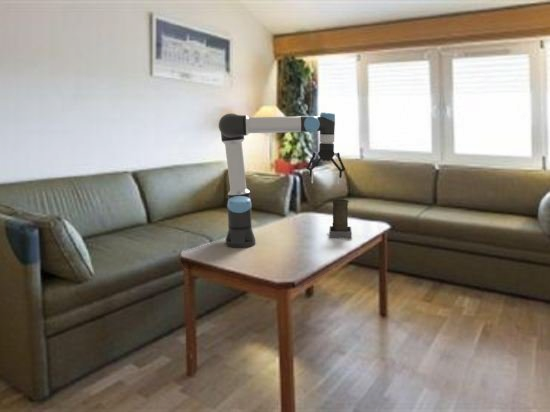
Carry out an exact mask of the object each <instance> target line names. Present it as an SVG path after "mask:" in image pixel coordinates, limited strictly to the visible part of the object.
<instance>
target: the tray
mask: <svg viewBox="0 0 550 412" xmlns="http://www.w3.org/2000/svg"><path fill="white" fill-rule="evenodd" d="M332 228H333V225H332V226H329V231H328V232H329V234H328V237H329V239H352V235H353V234H352V232H353V231H352V226H348V232H343V231H332Z"/></svg>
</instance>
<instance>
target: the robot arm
mask: <svg viewBox="0 0 550 412" xmlns="http://www.w3.org/2000/svg"><path fill="white" fill-rule="evenodd" d="M335 127H336V115H335V113H334V112H321V113H320V115H318V116H317V115H316V116H315V115H299V116H297V115H296V116H257V117H255V116H253V117H249V116H248V115H246V114H244V115H241V114H236V113H232V112H231V113H226V114H224V115H223V116H221V118H220V119H219V121H218V129H219V132H220V136H221V143H223V144H224V145H225V146H224V147H225V155H226V163H227V164H226V165H227V171H228V172H227V173H228V182H229V191H228V193H227V198H228V199H227V204H226V206H227V207H226V208H227V223H228V224H227V225H228V226H227V227H228V229H227V234H226V236H225V240H224V241H225V246H226V245H227V247H229V248H237V249H238V248H240V249H241V248H249V247H253V246H254V245H256V237H255V235H254V231H253V228H252V226H253V225H252V207H253V205H252V201H251V191H250V189H248V188H247V179H246V171H245V170H246V169H245V162H244V161H245V160H244V152H243V151H244V150H243V142H244V140H245V136H248V135H249V134H267V133H268V134H269V133H270V134H271V133H272V134H274V133H275V134H277V133H316V132H319V145H318V146H319V148H318V152H316V151H313V153H312V157H311V159H310V161H309V162H308V164H307V166H306V170H308V171H309V177H310V178H311V184H314V173H315V172H314V168H316V166H318V164H319V163H320V162H321V161H323V162H326V161H327V162H330V161H331V162H332V164H333V165H334V166H335V168H336V169H337V170H338V171H337V185H340V179H341V178H342V177H343V175H342V174H343V173H342V172H344V171H346V167H345V165H344V163H343V161H342V158H341V156H340V155H341V154H340V153H341V152H338V151H337V152H335V143H334V142H335V131H336V130H335V129H336V128H335ZM317 156H318V157H319V158H318V159H317V160H316V162H315V163H314V164H313V162H314V160H315V158H316V157H317ZM334 157H336V158H337V159H338V162H339V164H340V165H339V164H338V163H337V162H336V160H335V159H334ZM312 164H313V165H312ZM310 166H311V167H310Z"/></svg>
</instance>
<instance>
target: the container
mask: <svg viewBox="0 0 550 412" xmlns="http://www.w3.org/2000/svg"><path fill="white" fill-rule="evenodd" d="M349 202H350V201H349V200H348V199H344V198H343V199H342V198H340V199H339V198H338V199H333V200H332V206H333V207H332V226H333V228H332V231H343V232H348V227H349V223H348V222H349V221H348V220H349V219H348V218H349V217H348V215H349V213H348V212H349V208H348V206H349Z"/></svg>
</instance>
